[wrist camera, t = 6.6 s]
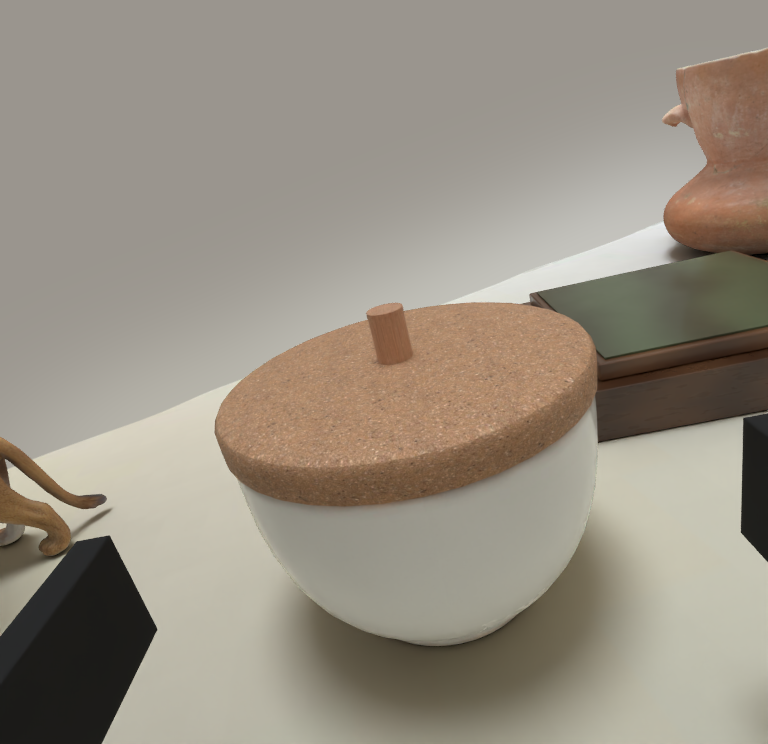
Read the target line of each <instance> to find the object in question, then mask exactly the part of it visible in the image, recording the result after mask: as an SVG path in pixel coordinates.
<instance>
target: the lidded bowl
mask: <svg viewBox="0 0 768 744" xmlns="http://www.w3.org/2000/svg"><path fill="white" fill-rule="evenodd" d="M366 314H367V318H368V320H365V321H361V322H358V323H355V324H351V325H348V326H345V327H342V328H339V329H337V330H334V331H331V332H328V333H326V334H323V335H320V336H318V337H315V338H313V339H310V340H308V341H306V342H304V343H302V344H300V345H297V346H295V347H293V348H291V349H289V350H287V351H286V352H284V353H282V354H280V355H278V356H276V357H274V358H272V359H271V360H269V361H268V362H266V363H265V364H263V365H262V366H260V367H259V368H257V369H256V370H255V371H253V372H252V373H250V374H249V375H248V376H247V377H245V378H244V379H243V380H241V381H240V382H239V383H238V384H237V385H236V386H235V387H234V388H233V389H232V390H231V392H230V393H229V394H228V395H227V397H226V398H225V399H224V401H223V402H222V403H221V406H220V409H219V411H218V414H217V417H216V420H215V435H216V438H217V441H218V444H219V446H220V449H221V451H222V454H223V456H224V459H225V461H226V464H227V466H228V468H229V470H230V471H231V472H232V473H233V474H234V475H235V477H236V478H237V479H238V482H239V485H240V487H241V490H242V492H243V495H244V497H245V500H246V502H247V505H248V507H249V509H250V511H251V514H252V516H253V518H254V520H255V523H256V525H257V527H258V529H259V531H260V533H261V535H262V536H263V538H264V540H265V542H266V543H267V545H268V547H269V548H270V550H271V552H272V554H273V555H274V556H275V558H276V559H277V560H278V562H279V563H280V564H281V566H282V567H283V568H284V570H285V571H286V572H287V574H288V575H289V576H290V577H291V579H292V580H293V581H294V582H295V584H296V585H297V586H298V587H299V589H300V590H301V591H302V592H304V593H305V594H306V595H307V596H308V597H309V598H311V599H312V600H313V601H314V602H315V603H316V604H318V605H319V606H320V607H322V608H323V609H324V610H325V611H327V612H328V613H329V614H330V615H332V616H334V617H336V618H338V619H340V620H342V621H344V622H346V623H348V624H350V625H352V626H354V627H356V628H358V629H360V630H362V631H365V632H368V633H371V634H375V635H378V636H381V637H386V638H393V639H398V640H402V641H405V642H408V643H412V644H418V645H425V646H447V645H454V644H461V643H465V642H468V641H472V640H476V639H478V638H481V637H483V636H485V635H488V634H490V633H492V632H494V631H496V630H497V629H499V628H501V627H502V626H504V625H505V624H507V623H508V622H509V621H510V620H511V619H513V618H514V617H515V616H516V615H517V614H518V613H520V612H521V611H523V610H524V609H526V608H527V607H529V606H530V605H531V604H532V603H533V602H535V601H536V600H537V599H538V598H539V597H541V596H542V595H543V594H544V593H545V592H546V591H547V590H548V588H549V587H550V586H551V585H552V584H553V583H554V581H555V580H556V579H557V578H558V577H559V575H560V574H561V573H562V572H563V570H564V569H565V568H566V566H567V565H568V563H569V561H570V559H571V558H572V556H573V554H574V552H575V551H576V549H577V547H578V544H579V542H580V540H581V537H582V535H583V533H584V531H585V528H586V524H587V521H588V517H589V514H590V510H591V505H592V500H593V495H594V490H595V484H596V470H597V453H598V436H597V411H596V401H595V393H596V391H597V355H596V347H595V345H594V343H593V340H592V338H591V336H590V335H589V334H588V333H587V332H586V331H585V330H584V329H583V327H582V326H581V325H580V324H579V323H578V322H576V321H574V320H572V319H570V318H569V317H567V316H565V315H562V314H560V313H557V312H555V311H552V310H549V309H544V308H539V307H535V306H528V305H521V304H513V303H460V304H448V305H439V306H430V307H424V308H418V309H413V310H407V311H403V306H402V304H400V303H389V304H383V305H380V306H377V307H374V308H372V309H370V310H368V311H367V313H366Z"/></svg>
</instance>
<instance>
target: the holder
mask: <svg viewBox="0 0 768 744" xmlns="http://www.w3.org/2000/svg"><path fill="white" fill-rule="evenodd" d="M529 296H530V302H528V303H523V304H521V305H528V306H535V307H539V308H544V309H549V310H552V311H555V312H557V313H560V314H562V315H565V316H567V317H569V318H570V319H572V320H574V321H576V322H578V323H579V324H580V325H581V326H582V327H583V329H584V330H585V331H586V332H587V333H588V334H589V335H590V336H591V338H592V340H593V343H594V345H595V347H596V355H597V391H596V393H595V401H596V411H597V436H598V442H599V441H604V440H609V439H615V438H620V437H625V436H631V435H636V434H641V433H646V432H652V431H657V430H662V429H668V428H673V427H678V426H684V425H689V424H694V423H700V422H705V421H710V420H715V419H721V418H726V417H731V416H737V415H742V414H747V413H753V412H758V411H763V410H768V261H766V260H763V259H760V258H756V257H753V256H749V255H746V254H742V253H739V252H736V251H732V250H730V251H725V252H721V253H716V254H711V255H707V256H702V257H697V258H693V259H688V260H684V261H679V262H674V263H670V264H665V265H660V266H656V267H651V268H646V269H642V270H637V271H633V272H628V273H623V274H619V275H614V276H609V277H605V278H600V279H595V280H591V281H586V282H581V283H577V284H572V285H568V286H563V287H558V288H554V289H549V290H544V291H540V292H535V293H531V294H530V295H529Z"/></svg>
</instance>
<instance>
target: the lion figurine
mask: <svg viewBox="0 0 768 744" xmlns="http://www.w3.org/2000/svg"><path fill="white" fill-rule="evenodd" d="M5 459H7V460H8V461H9V462H11V463H12V464H13V465H14V466H16V467H17V468H18V469H20V470H21V471H22V472H23V473H24V474H25V475H26V476H28V477H29V478H30V479H32V480H33V481H35V482H36V483H37V484H38V485H39V486H40V487H42V488H43V489H44V490H45V491H46V492H48V493H50V494H51V495H52V496H54V497H55V498H57V499H58V500H60V501H62V502H64V503H66V504H69V505H71V506H74V507H77V508H81V509H89V508H96V507H97V506H98V505H101V504H103V503H104V502H105V501H106V500H107V498H106V496H104V495H102V494H96V495H84V496H76V495H73V494H71V493H69V492H67V491H65V490H64V489H62V488H61V487H60V486H59V485H58V484H57V483H56V482H55V481H54V480H53V479H52V478H50V477H49V476H48V475H47V474H46V473H45V472H44V471H43V470H42V469H41V468H40V467H39V466H38V465H37V464H36V463H35V462H34V461H33V460H31V459H30V458H29V457H28V456H27V455H26V454H25V453H24V452H22V451H21V450H20V449H19V448H17V447H16V446H14V445H13V444H11V443H10V442H8V441H7V440H5V439H3V438H1V437H0V523H7V526H6V528H3V529H1V530H0V546H3V545H7V544H10V543H12V542H14V541H16V540H17V539H18V538H20V537H21V536H22V534H23V533H24V530H25V526H31V527H36V528H39V529H42V530H44V531H46V532H47V533H48V536H47V537H46V538H45V539H43V540H42V541H41V542H40V545H39V550H40V551H41V552H43V554H44V555H46V556H53V555H56V554H58V553H60V552H61V551H63V550H65V549H66V548H67V547H68V545H69V543H70V540H71V534H70V529H69V527H68V526H67V524H66V523H65V522H64V521H63V519H62V518H61V517H60V516H59V515H58V514H57V513H56V512H55V511H54V510H53V508H52V507H51V506H50V505H48V504H47V503H43V502H39V501H33V500H30V499H27V498H25V497H23V496H22V495H20V494H18V493H17V492H15V491H14V490H12V489H11V488H10V483H9V477H8V471H7V467H6V463H5Z"/></svg>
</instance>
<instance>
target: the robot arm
mask: <svg viewBox="0 0 768 744" xmlns="http://www.w3.org/2000/svg"><path fill="white" fill-rule="evenodd" d="M741 533H742V534H743V535H744V536H745V538H746V539H747V540H748V541H749V542H750V543H751V544H752V545H753V546H754V547H755V548H756V550H757V551H758V552H759V553H760V554H761V555H762V556H763V557H764V558H765V559H766V561H767V562H768V414H763V415H758V416H752V417H747V418H744V419H743V464H742V509H741ZM156 631H157V627H156V625H155V623H154V621H153V619H152V618H151V616H150V614H149V612H148V610H147V608H146V606H145V604H144V602H143V600H142V598H141V596H140V594H139V592H138V590H137V588H136V586H135V584H134V582H133V580H132V578H131V576H130V574H129V573H128V571H127V569H126V567H125V565H124V563H123V561H122V559H121V557H120V555H119V553H118V551H117V549H116V547H115V545H114V543H113V541H112V539H111V537H110V535H109V536H104V537H99V538H93V539H88V540H82V541H77V542H76V543H75V544H74V546H73V547H72V548H71V549H70V551H69V552H68V553H67V554H66V556H65V557H64V558H63V559H62V561H61V562H60V563H59V564H58V565H57V567H56V568H55V569H54V570H53V572H52V573H51V574H50V575H49V577H48V578H47V579H46V580H45V582H44V583H43V584H42V585H41V587H40V588H39V589H38V590H37V592H36V593H35V594H34V595H33V597H32V598H31V599H30V600H29V602H28V603H27V604H26V605H25V606H24V608H23V609H22V610H21V611H20V613H19V614H18V615H17V616H16V618H15V619H14V620H13V621H12V623H11V624H10V625H9V626H8V628H7V629H6V630H5V631H4V633H3V634H2V635H1V636H0V744H102V742H103V740H104V738H105V736H106V733H107V731H108V729H109V727H110V725H111V723H112V721H113V719H114V717H115V715H116V713H117V711H118V709H119V707H120V705H121V703H122V701H123V699H124V697H125V695H126V693H127V691H128V689H129V686H130V684H131V682H132V680H133V678H134V676H135V674H136V672H137V670H138V668H139V666H140V664H141V662H142V660H143V658H144V656H145V654H146V652H147V650H148V648H149V646H150V644H151V642H152V639H153V637H154V635H155V633H156Z"/></svg>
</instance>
